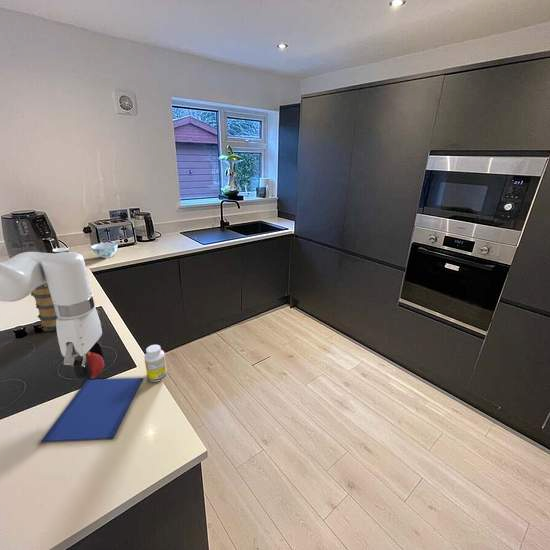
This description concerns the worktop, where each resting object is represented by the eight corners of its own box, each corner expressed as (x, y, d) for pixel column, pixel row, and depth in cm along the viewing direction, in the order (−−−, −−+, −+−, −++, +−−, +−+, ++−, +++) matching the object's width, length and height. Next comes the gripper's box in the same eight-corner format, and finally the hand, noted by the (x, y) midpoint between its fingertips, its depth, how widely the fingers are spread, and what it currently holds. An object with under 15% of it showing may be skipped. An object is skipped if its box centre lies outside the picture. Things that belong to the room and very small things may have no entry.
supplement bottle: (153, 369, 90) (148, 342, 87) (170, 370, 90) (166, 343, 86) (144, 382, 85) (139, 353, 82) (162, 383, 85) (158, 354, 81)
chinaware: (98, 253, 197) (96, 242, 194) (122, 252, 200) (120, 242, 197) (90, 260, 184) (87, 249, 181) (115, 259, 186) (113, 248, 183)
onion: (79, 375, 75) (71, 350, 72) (104, 366, 78) (98, 341, 75) (83, 388, 70) (75, 361, 68) (109, 378, 74) (103, 352, 71)
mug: (37, 322, 114) (22, 275, 107) (87, 310, 124) (76, 266, 117) (37, 337, 105) (21, 287, 98) (91, 322, 115) (80, 276, 108)
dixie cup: (76, 265, 176) (71, 247, 172) (66, 269, 168) (62, 251, 164) (63, 264, 176) (59, 247, 172) (53, 269, 169) (48, 251, 164)
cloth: (41, 441, 67) (41, 440, 67) (87, 380, 85) (87, 379, 85) (113, 438, 68) (113, 437, 68) (143, 379, 86) (142, 377, 86)
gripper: (78, 290, 74) (93, 348, 81) (31, 325, 58) (54, 394, 65) (109, 289, 75) (121, 347, 81) (70, 324, 59) (89, 393, 66)
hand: (91, 367), depth 73 cm, fingers closed on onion, 5 cm apart
